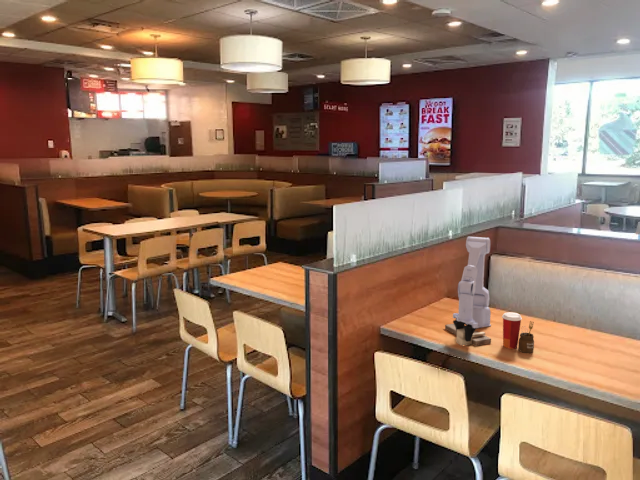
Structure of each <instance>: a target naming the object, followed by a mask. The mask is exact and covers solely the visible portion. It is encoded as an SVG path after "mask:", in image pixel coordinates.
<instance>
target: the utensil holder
mask: <svg viewBox="0 0 640 480" xmlns="http://www.w3.org/2000/svg"><path fill="white" fill-rule="evenodd" d="M524 328H526V325H524V326H522V329H524ZM528 329H529V332H528ZM528 329H526V332H521V333H519V338H518V345H517V348H518V351H520V352H521V353H524V354H531V353H533V352H534V349H535V340H534V337H535V336H534V334H533V333H531V330H533V329H534V321H532V320H530V321H529V326H528Z"/></svg>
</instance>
